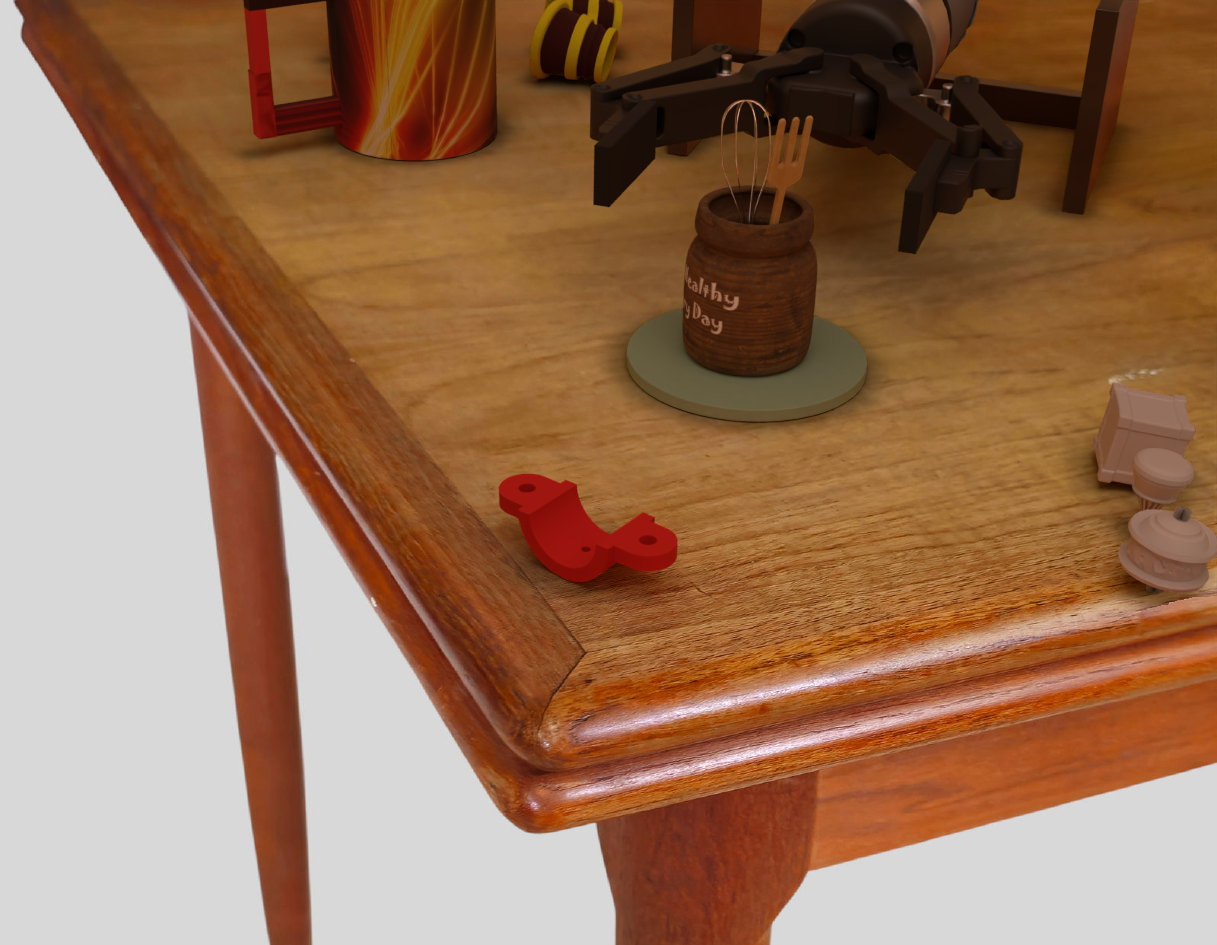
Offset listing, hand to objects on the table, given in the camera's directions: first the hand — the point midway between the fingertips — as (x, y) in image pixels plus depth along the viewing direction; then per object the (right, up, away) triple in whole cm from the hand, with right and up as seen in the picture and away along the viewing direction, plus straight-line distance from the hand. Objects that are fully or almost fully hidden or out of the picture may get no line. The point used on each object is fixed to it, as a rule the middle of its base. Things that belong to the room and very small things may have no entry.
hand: (752, 199), depth 77 cm
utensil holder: (0, -6, +6) cm, 8 cm away
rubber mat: (0, -6, +6) cm, 9 cm away
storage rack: (+11, +11, +31) cm, 35 cm away
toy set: (+15, -11, -7) cm, 21 cm away
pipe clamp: (-7, -14, -9) cm, 18 cm away
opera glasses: (-8, +18, +41) cm, 46 cm away
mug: (-19, +10, +29) cm, 36 cm away
